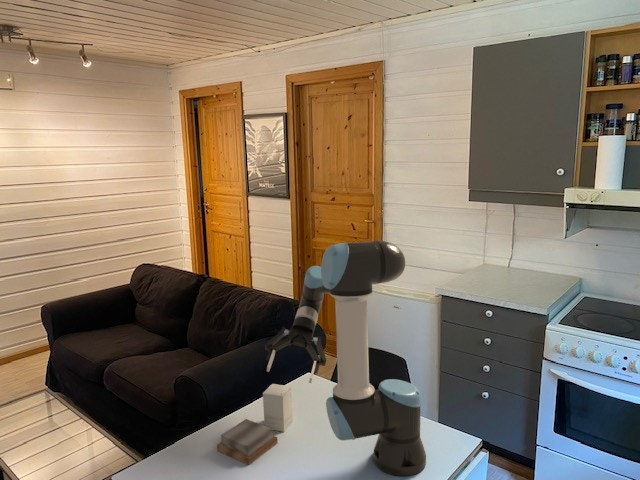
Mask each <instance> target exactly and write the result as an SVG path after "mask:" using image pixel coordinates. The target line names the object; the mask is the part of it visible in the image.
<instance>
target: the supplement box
mask: <svg viewBox="0 0 640 480" xmlns="http://www.w3.org/2000/svg"><path fill="white" fill-rule="evenodd" d="M262 401H263V402H262V404H263V419H264V420H263V421H264V426H266V427H269V428H271V429H272V430H273V431H276V432H282V433H284V432H285V431H287V429H288V428H289V427H290V426H291V424H292V423H293V420H294V418H293V397H292V386H289V385H283V384H276V383H272V384H270V385H269V387H267V388H266V389H265V390H264V391H263V392H262Z"/></svg>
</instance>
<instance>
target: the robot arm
mask: <svg viewBox="0 0 640 480" xmlns="http://www.w3.org/2000/svg"><path fill="white" fill-rule="evenodd" d="M405 268H406V257H405V255H404V253H403V251H402V250H401V249H400V248H399V247H398V245H395V244H394V243H392V242H388V241H385V240H374V241H357V242H355V241H354V242H342V243H336V244H331V245H329V246H328V247H326V249H325V251H324V253H323V256H322V260H321V265H320V266H318V265H312V266H310V267H309V268H308V269H306V272H305V274H304V276H305V277H304V279H303V287H302V292H301V297H300V298H301V299H300V301H299V304H298V305H299V306H298V308H297V311H296V314H295V317H294V320H293V323H292V327H291V329H290V330H288V329H286V327H285V326H282V327H281V329H280V331H279V332H278V333H276V335H274V336H273V337H272V338H271V339H270V340H268V341H267V342H266V343H265V345H264V350H265V351H267V352H268V354H267V356H266V361H268V364H267V366H266V372H268V373H269V372H270V370H271V368H272V364H273V361H274V359H275V355H276V352H279V351H280V350H282V349H283V348H286V347H287V346H289V347H290V346H291V345H293V346H295V347H296V346H297V347H300V348H305V350H306V351H307V352H308V354H309V356H310V357H311V359H312V360H313V363H312V364H313V365H312V368H311V373H310V375H309V376H310V377H309V380H308V384H312V382H313V381H312V380H313V377H314V374H316V375H317V374H318V372H319V368H320V367H321V366H322V367H326V363H327V356H326V353H325V351H324V347H323V345H322V344H323V343H322V336H318V337H316V336H315V337H314V332H315V329H316V325H317V322H318V318H319V314H320V311H321V308H322V304H323V302H324V295H325V294H329V295H330V296H331V297H332V298H333V299H334V301H335V305H334V308H335V331H336V332H335V335H336V363H337V364H336V365H337V367H336V369H337V383H336V384H335V385H334V386H333V388H332V396H329V397H328V398H327V399H326V402H325V408H326V413H327V418H328V421H329V424H330V427H331V430H332V432H333V434H334V436H335V437H336V438H337V439H338V440H339V441H349V440H353V441H354V440H356V439H360V438H365V437H366V438H367V437H370V436H377V435H378V436H377V439H376V442H375V445H374V448H373V452H372V453H373V454H372V455H373V463H374V465H375V466H376V467H377V468H378V469H379V470H380V471H382V472H384V473H386V474H388V475H391V476H396V477H407V476H408V477H410V476H413V475H416V474H417V475H418V474H419V473H420V472H422V471H423V470H424V469H425V468H426V465H427V454H426V450H425V446H424V444H423V441H422V437H421V413H422V410H421V407H422V402H421V392H420V390H419V388H418V387H416V386H415V385H414V384H412V383H410V382H408V381H406V380H405V381H404V380H401V379H396V378H395V379H394V378H392V379H391V378H390V379H384V380H382V381H381V382H380V383H379V384H378V389H375V387H374V386H373V385H372V383H370V373H369V372H370V368H369V365H370V364H369V330H368V326H369V325H368V298H369V297H370V296H371V295H372V294H373V285H380V284H385V283H389V282H392V281H395V280H397V279H398V278H400V276H401V275H402V274H403V272H404V271H405ZM287 335H288V336H287ZM286 336H287V337H286ZM283 337H286V338H285V339H283ZM282 339H283V340H282ZM313 342H314V345H315V346H316V350H317V351H316V350H315V348H314V346H313V345H312V344H313ZM317 353H318V354H317Z"/></svg>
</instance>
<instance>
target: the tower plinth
mask: <svg viewBox="0 0 640 480" xmlns="http://www.w3.org/2000/svg"><path fill="white" fill-rule="evenodd" d="M273 432H274V430H272V429H271V428H269V427H266V426H265V425H263V424H261V423H257V422H255V421H252V420H250V419H247V418H245V419H244V420H242V421H241V422H239V423H237V424H236V425H234V426H233V427H230V429H228V430H226V432H224V433H222V434H221V435H220V436H221V437H220V438H221V439H220V440H221V442H219V443H218V444H216V449H217V450H216V451H217V452H219V453H221V454H224V455H225V456H227V457H231V458H233V459H234V460H237V461H239V462H242V463H244V464H246V465H248V466H250V465H251V464H253V463H254V462H255V461H256V460H258V459H259V458H260V457H262V456H263V455H264V454H266V453H267V452H268V451H270V450H271V449H273V447H275V446H276V445H277V444H278V437H277V436H275V435H273Z"/></svg>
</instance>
